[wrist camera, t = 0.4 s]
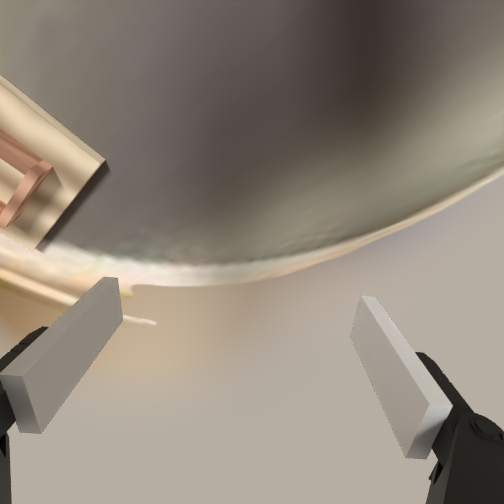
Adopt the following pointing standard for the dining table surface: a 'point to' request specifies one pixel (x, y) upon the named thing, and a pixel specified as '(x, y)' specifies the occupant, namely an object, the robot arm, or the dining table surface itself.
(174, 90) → the dining table surface
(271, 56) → the dining table surface
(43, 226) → the holder
